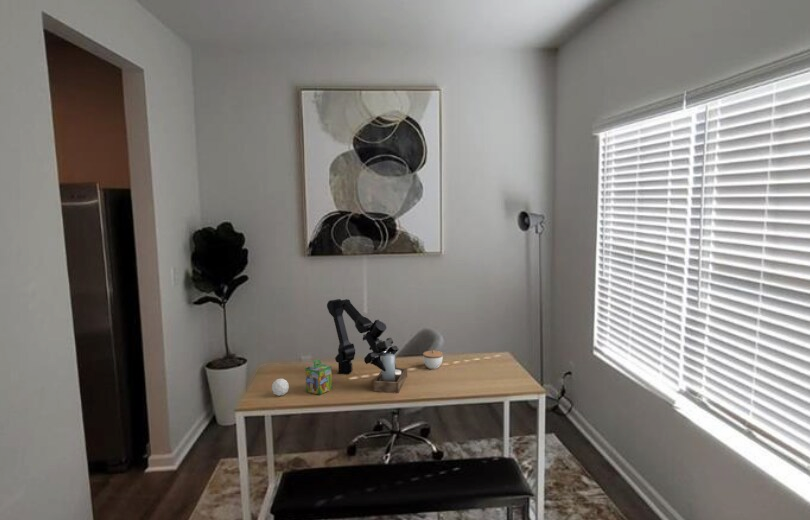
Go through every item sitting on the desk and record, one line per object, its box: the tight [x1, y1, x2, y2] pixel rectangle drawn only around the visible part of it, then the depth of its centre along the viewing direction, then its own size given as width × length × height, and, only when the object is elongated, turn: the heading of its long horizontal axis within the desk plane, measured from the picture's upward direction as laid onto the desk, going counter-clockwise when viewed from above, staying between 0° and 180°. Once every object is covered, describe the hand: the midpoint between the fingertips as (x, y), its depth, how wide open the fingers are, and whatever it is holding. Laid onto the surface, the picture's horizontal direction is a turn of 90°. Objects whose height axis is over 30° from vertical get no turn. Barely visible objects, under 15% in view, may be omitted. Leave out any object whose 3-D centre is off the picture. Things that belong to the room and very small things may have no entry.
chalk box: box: [305, 358, 333, 396], centre depth 226 cm, size 9×9×15 cm
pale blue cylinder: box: [381, 353, 396, 382], centre depth 229 cm, size 6×6×13 cm
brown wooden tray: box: [373, 366, 408, 394], centre depth 234 cm, size 12×22×5 cm, turn 169°
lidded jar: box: [422, 349, 444, 370], centre depth 258 cm, size 11×11×9 cm
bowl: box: [395, 369, 401, 375], centre depth 240 cm, size 8×8×3 cm
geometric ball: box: [271, 378, 290, 397], centre depth 222 cm, size 8×8×8 cm
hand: (390, 369), depth 228 cm, fingers closed on pale blue cylinder, 6 cm apart
